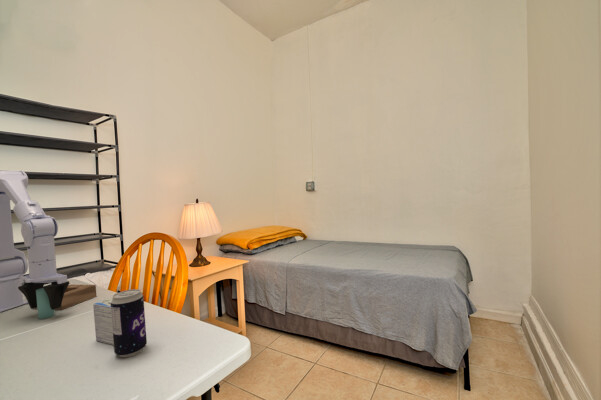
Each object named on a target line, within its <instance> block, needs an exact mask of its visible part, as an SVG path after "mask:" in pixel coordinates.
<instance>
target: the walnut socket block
mask: <svg viewBox="0 0 601 400" xmlns="http://www.w3.org/2000/svg"><path fill="white" fill-rule="evenodd" d="M96 287H97V285H96V284H69V285H68V287H67V289H66V291H65V293H64V296H63V300H62V304H61V307H60V308H57V309H54V310H55V311H56V310H58V311H61V310H66V309H68V308H70V307H74V306H76V305H78V304H80V303H84V302H86V301H88V300H92V299H94V298H96V297H97V288H96ZM34 310H38V309H37V308H34Z"/></svg>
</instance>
